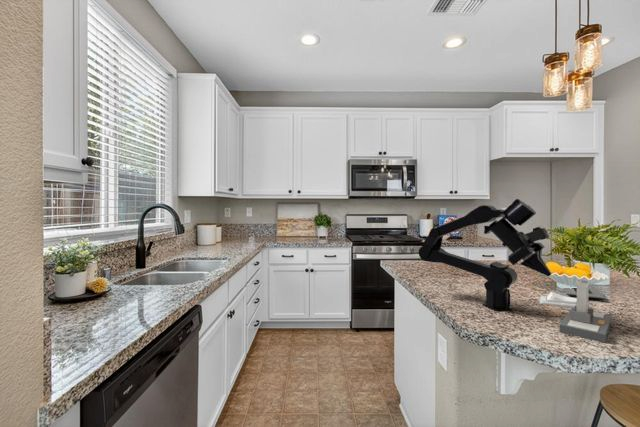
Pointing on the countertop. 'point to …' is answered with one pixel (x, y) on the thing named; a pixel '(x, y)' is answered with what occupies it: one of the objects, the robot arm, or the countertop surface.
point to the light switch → (558, 300)
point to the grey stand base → (587, 324)
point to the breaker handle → (582, 296)
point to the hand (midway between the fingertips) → (550, 275)
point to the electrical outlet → (592, 293)
